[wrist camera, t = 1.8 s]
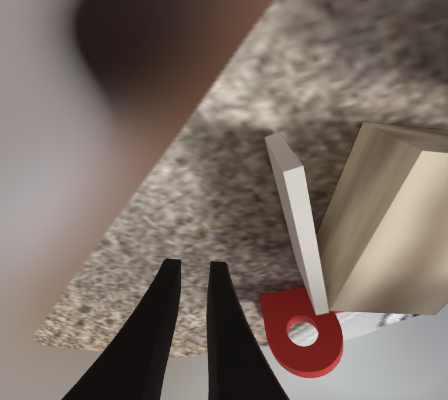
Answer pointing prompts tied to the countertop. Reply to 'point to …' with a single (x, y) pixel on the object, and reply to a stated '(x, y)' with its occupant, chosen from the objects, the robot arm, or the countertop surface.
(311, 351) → the bracket
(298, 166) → the door
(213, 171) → the countertop surface
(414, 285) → the cream rectangular block
